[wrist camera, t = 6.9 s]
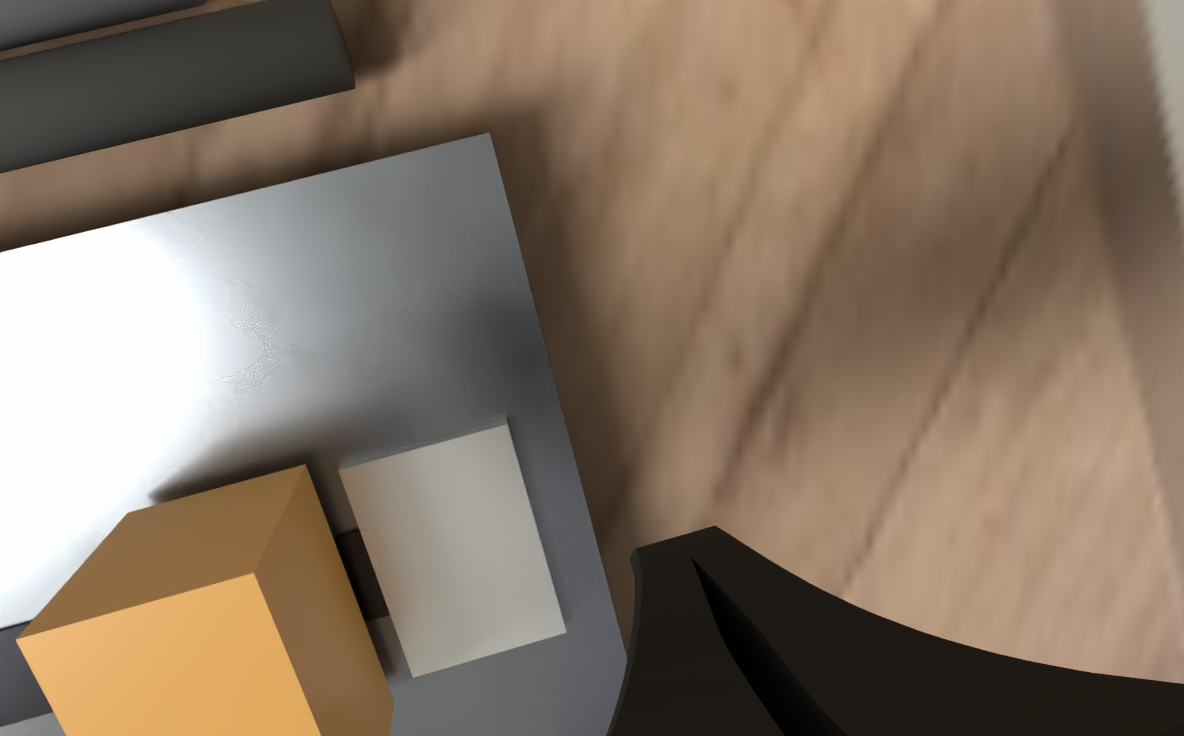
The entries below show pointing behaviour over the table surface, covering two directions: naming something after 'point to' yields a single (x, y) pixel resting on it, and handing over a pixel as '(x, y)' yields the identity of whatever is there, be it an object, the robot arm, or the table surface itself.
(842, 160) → the table surface
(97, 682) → the lever
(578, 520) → the grey flat slab
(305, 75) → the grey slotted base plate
